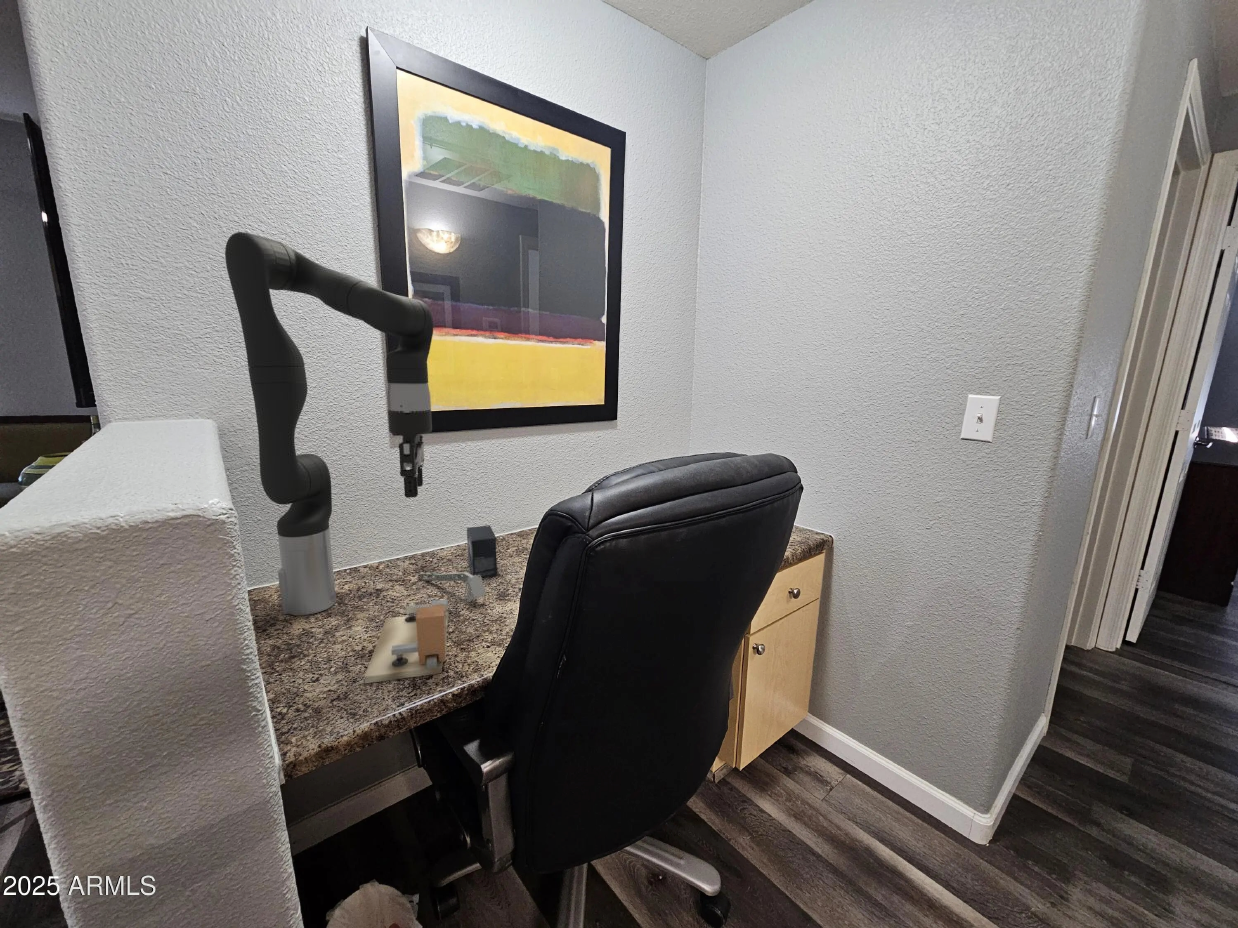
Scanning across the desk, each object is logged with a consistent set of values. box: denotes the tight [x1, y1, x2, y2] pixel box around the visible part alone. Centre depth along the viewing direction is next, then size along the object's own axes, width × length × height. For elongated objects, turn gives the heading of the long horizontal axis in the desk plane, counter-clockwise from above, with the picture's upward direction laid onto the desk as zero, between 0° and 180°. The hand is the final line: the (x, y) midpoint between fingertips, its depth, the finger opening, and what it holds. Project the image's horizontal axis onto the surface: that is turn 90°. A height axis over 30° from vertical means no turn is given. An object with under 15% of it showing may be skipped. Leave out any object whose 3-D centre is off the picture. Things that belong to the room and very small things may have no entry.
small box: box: [466, 524, 499, 579], centre depth 126 cm, size 11×6×10 cm, turn 23°
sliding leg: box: [391, 605, 448, 665], centre depth 85 cm, size 9×4×9 cm, turn 106°
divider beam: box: [405, 599, 449, 669], centre depth 92 cm, size 8×20×3 cm, turn 16°
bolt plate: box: [363, 611, 449, 684], centre depth 92 cm, size 12×20×1 cm, turn 16°
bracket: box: [419, 570, 487, 603], centre depth 114 cm, size 3×21×10 cm, turn 54°
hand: (414, 491), depth 94 cm, fingers open, 8 cm apart
